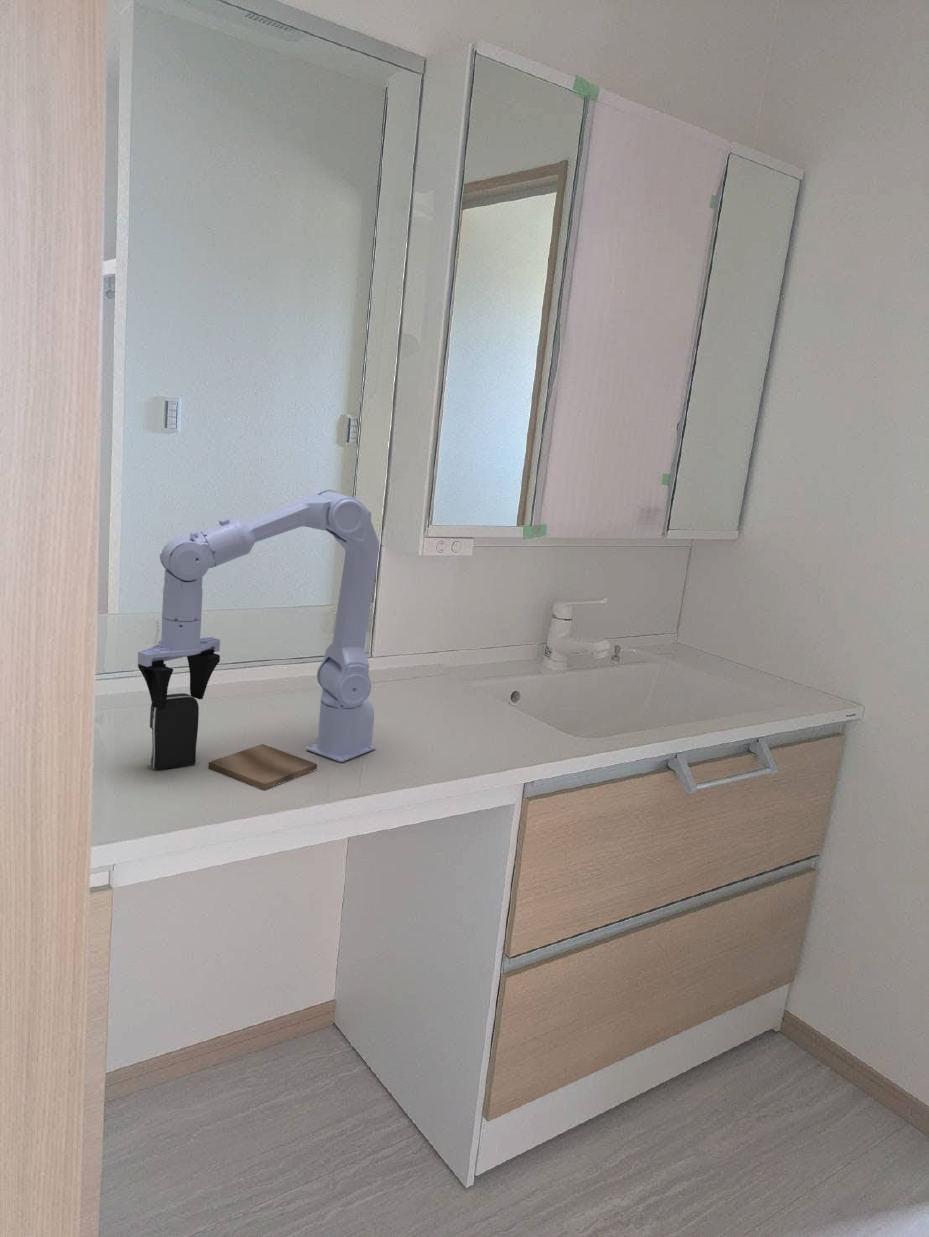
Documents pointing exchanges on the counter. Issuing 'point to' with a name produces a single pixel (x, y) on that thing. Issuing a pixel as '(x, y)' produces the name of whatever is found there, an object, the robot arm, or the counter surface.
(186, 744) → the battery charger
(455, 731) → the counter surface
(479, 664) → the counter surface
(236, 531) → the robot arm
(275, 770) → the walnut board
